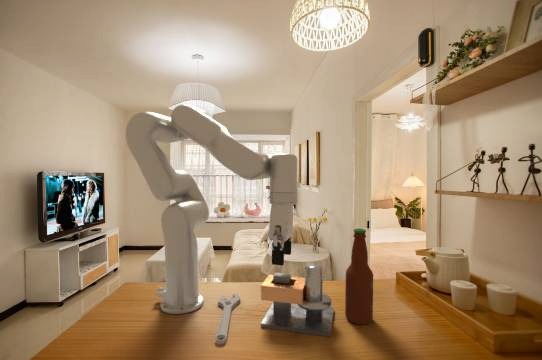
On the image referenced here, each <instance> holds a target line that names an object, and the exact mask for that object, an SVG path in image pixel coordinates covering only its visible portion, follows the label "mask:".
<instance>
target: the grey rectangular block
mask: <svg viewBox="0 0 542 360" xmlns="http://www.w3.org/2000/svg"><path fill="white" fill-rule="evenodd" d="M272 275H273V284H281V285H291V277H292V274H291V273H286V272H285V273H284V272H283V273H282V272H275V273H274V274H272ZM272 303H273V314H275V315H282V316H290V314H291V303H283V302H275V301H272Z"/></svg>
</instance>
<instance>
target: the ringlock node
mask: <svg viewBox="0 0 542 360" xmlns="http://www.w3.org/2000/svg"><path fill="white" fill-rule="evenodd" d="M323 269H324V266H323V265H321V264H318V263H307V264H304V277H301V276H291V285H281V284H273V275H274V274H268V276H266V278H265V280H264V281H263V282H262V283H261V285H260V300H261V301H268V302H272V303H271V305H270V307H269V309H268V310H267V312H266V313H265V316H264V318H263V319H262V321H261V322H260V328H265V329H271V328H272V329H271V330H279V331H285V332H293V333H301V334H306V335H313V336H320V337H327V338H331V337H332V335H331V334H332V330H333V329H332V327H333V319H334V310H335V309H334V308H335V307H334V306H332V301H333V299H332V298H331V296H330V295H328V294H326V293H323V291H324V290H323V289H324V288H323V287H324V286H323V285H324V270H323ZM273 301H275V302H283V303H291V314H290V316H282V315H275V314H273Z"/></svg>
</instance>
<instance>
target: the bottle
mask: <svg viewBox="0 0 542 360" xmlns="http://www.w3.org/2000/svg"><path fill="white" fill-rule="evenodd" d="M353 232H354V233H353V238H354V240H353V241H352V242H353V243H352V247H351V257H350V259H351V260H350V261H351V262H350V264H349V265H348V267H347V269H346V271H345V296H344V297H345V300H344V301H345V303H344V304H345V305H344V306H345V307H344V312H345V317H346V319H347V320H348V321H349V322H351V323H352V324H355V325H358V326H361V325H362V326H363V325H368V324H370V323H371V322H372V321H373V319H374V318H373V317H374V316H373V315H374V311H373V310H374V273H373V271H372V269H371V268H370V266H369V263H368V261H369V257H368V256H369V255H368V246H367V242H366V238H367V235H366V234H367V230H366V229H364V228H355V229H354V230H353Z"/></svg>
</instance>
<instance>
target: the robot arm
mask: <svg viewBox="0 0 542 360" xmlns="http://www.w3.org/2000/svg"><path fill="white" fill-rule="evenodd" d="M126 124H127V125H126V126H125V127H126V128H125V142H126V145H127V147H128V149H129V151H130V154H131V156H133V158H134V160H135V162H136V164H137V165H138V167H139V169H140V172H141V174H142V176H143V177H144V178H143V179H144V180H145V183H146V184H147V186H148V188H149V191H150V192H151V194H152V195H153V197H154V198H155V199H156V200H158V201H160V202H171V201H175V202H173V203H171V204H169V205H168V206H167V207H165V209H164V210H163V211H162V213H161V217H160V224H161V230H162V234H163V241H164V242H163V243H164V260H165V262H164V265H165V268H164V269H165V270H164V271H165V272H164V273H165V274H164V275H165V287H157V289H156V292H155V297H156V298H157V297H158V298H162V300H161V302H160V310H161V311H162V312H164V313H167V314H169V315H170V314H171V315H180V314H181V315H182V314H188V313H190V312H194V311H196V310H198V309H199V308H201V307H202V305H204V297H203V296H202V295H201V294H200V293H199V267H198V266H199V259H198V258H199V255H198V253H199V252H198V250H199V249H198V241H197V237H196V234H195V229H198V228H200V227H202V226H203V225H205V224H206V223H207V221H208V220H209V217H210V208H209V207H208V204H207V202H206V200H205V198H204V195H203V194H202V192H201V190H200V188H199V187H198V185H197V182H196V181H195V179H194V177H193V176H192V175H191V174H190V173H188V172H187V171H185V170H181V169H174V167H173V166H172V165H171V163H170V161H169V159H168V157H167V154H166V153H165V152H164V151H163V149H162V148H161V147H160V146H159V145H158V143H159V142H160V143H166V144H167V143H175V142H176V143H178V142H183V141H185V140H192V141H193V142H194V143H196V144H197V145H199V146H200V147H201V148H203V149H205V150H206V151H207V152H209V154H210V155H211V156H212V157H213V158H214V159H215V160H216V161H217V162H219V164H221V165H222V166H224V167H225V168H226V169H228V170H230V171H231V172H233V173H234V174H235V175H237V176H238V177H240V178H242V179H245V180H248V181H256V180H263V179H264V180H265V179H269V199H268V200H269V204H270V205H271V206H270V212H269V227H268V239H269V241H272V243H271V245H272V246H271V265H274V266H284V265H285V255H289V256H290V255H291V254H292V235H293V231H294V229H293V227H294V205H297V199H298V198H297V197H298V196H297V193H298V192H297V191H298V189H297V187H298V157H297V155H295V154H294V153H274V154H268V153H261V152H257V151H256V152H255V151H253V150H251V148H248V147H247V146H246V145H244V144H243V143H241V142H239V141H238V140H237V139H236V138H234V137H233V136H231V134H230V133H229V130H228V128H227V127H225V125H222V124H221V123H220V122H219V121H217V120H214V119H213V118H211V117H210V115H209V114H208V112H206V111H205V110H204V109H202V108H201V109H200V108H198V107H197V106H194V105H192V104H185V103H183V104H179V105H177V106H175V107H174V108H173V109H172V112H171V114H170V116H166V115H163V114H160V113H156V112H151V111H139V112H137V113H135V114H133V115H132V116H131V117H130V118H129V120H128V121H127V123H126ZM157 142H158V143H157Z"/></svg>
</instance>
